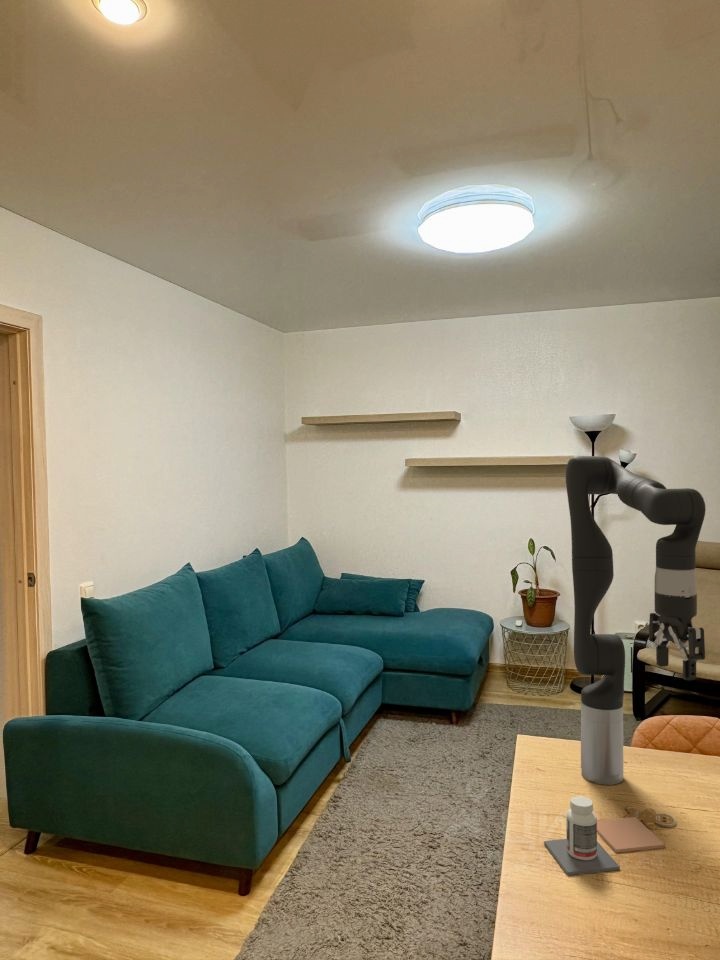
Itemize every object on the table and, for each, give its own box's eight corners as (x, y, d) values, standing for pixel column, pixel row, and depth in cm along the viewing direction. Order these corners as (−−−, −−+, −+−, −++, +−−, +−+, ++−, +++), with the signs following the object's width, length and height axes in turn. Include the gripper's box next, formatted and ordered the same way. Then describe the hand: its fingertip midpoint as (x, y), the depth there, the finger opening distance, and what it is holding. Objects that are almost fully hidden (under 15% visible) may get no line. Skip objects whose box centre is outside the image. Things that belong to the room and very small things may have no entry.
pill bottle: (603, 855, 124) (602, 802, 124) (584, 865, 121) (584, 811, 121) (578, 841, 128) (578, 791, 128) (560, 851, 125) (560, 799, 125)
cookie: (624, 801, 143) (675, 810, 139) (624, 806, 143) (675, 815, 139) (622, 820, 136) (677, 830, 132) (622, 825, 136) (677, 835, 132)
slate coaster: (544, 844, 129) (544, 841, 129) (592, 839, 130) (592, 836, 130) (567, 875, 119) (567, 872, 119) (619, 869, 120) (619, 866, 120)
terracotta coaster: (589, 824, 136) (589, 821, 136) (635, 819, 137) (635, 817, 137) (615, 852, 126) (615, 849, 126) (664, 847, 127) (664, 844, 127)
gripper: (637, 584, 137) (637, 663, 138) (680, 598, 123) (680, 685, 123) (670, 583, 138) (671, 660, 139) (717, 596, 124) (717, 683, 125)
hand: (675, 672), depth 131 cm, fingers open, 8 cm apart
